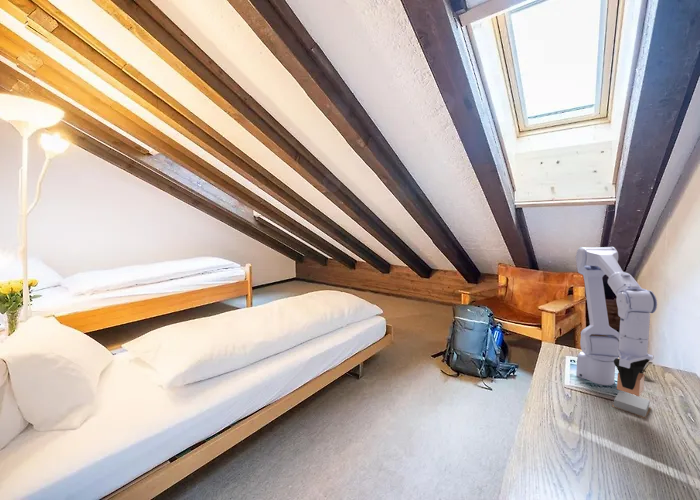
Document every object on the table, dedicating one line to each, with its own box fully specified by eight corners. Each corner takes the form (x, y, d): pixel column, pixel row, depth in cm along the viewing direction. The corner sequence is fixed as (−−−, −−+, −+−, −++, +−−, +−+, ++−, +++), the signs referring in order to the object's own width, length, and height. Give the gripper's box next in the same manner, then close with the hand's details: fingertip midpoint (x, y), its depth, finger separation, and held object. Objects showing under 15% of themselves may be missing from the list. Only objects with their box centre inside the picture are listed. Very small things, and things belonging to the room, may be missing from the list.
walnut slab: (611, 412, 88) (611, 406, 88) (618, 403, 92) (618, 396, 92) (644, 425, 82) (645, 418, 82) (651, 414, 86) (651, 407, 86)
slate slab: (613, 406, 88) (614, 399, 87) (619, 397, 92) (619, 390, 91) (645, 417, 83) (645, 409, 82) (649, 407, 87) (649, 400, 86)
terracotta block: (616, 389, 85) (617, 373, 84) (621, 383, 88) (622, 367, 87) (639, 396, 81) (640, 380, 81) (643, 390, 84) (644, 374, 83)
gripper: (647, 348, 75) (643, 401, 77) (661, 332, 84) (657, 381, 85) (610, 339, 81) (607, 389, 83) (626, 325, 89) (623, 371, 91)
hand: (630, 384), depth 84 cm, fingers closed on terracotta block, 4 cm apart
